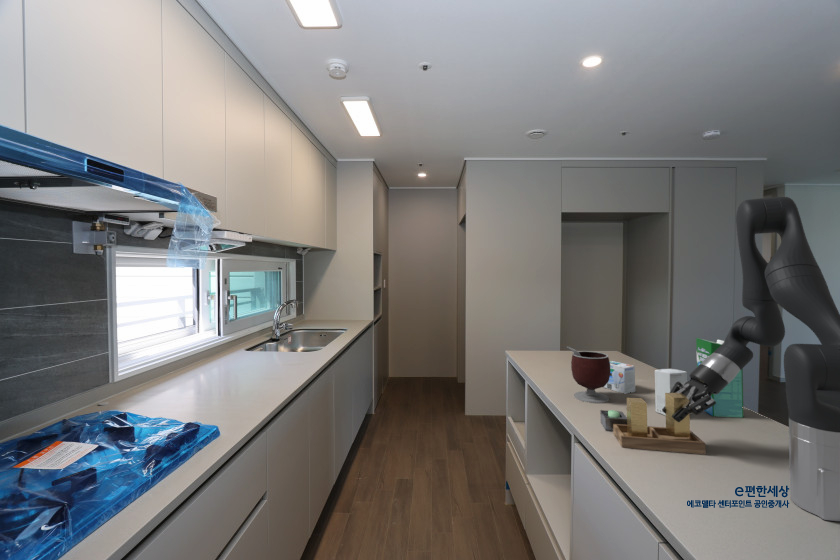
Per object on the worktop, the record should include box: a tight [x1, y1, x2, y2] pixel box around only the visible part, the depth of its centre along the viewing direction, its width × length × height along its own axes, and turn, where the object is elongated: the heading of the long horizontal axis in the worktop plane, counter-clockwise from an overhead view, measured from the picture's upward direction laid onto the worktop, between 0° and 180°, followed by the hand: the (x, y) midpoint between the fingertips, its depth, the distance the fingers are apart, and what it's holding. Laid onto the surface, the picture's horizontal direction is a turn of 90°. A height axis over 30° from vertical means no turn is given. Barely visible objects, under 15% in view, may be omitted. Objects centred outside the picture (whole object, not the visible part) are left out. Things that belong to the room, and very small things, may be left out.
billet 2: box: [665, 393, 691, 437], centre depth 101 cm, size 4×4×11 cm
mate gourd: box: [566, 346, 611, 404], centre depth 141 cm, size 16×14×20 cm
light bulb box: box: [603, 360, 636, 395], centre depth 150 cm, size 11×7×11 cm, turn 25°
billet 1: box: [626, 397, 648, 438], centre depth 103 cm, size 4×4×11 cm
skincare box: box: [654, 368, 688, 417], centre depth 123 cm, size 8×6×15 cm
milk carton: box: [695, 337, 745, 419], centre depth 123 cm, size 9×9×25 cm
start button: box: [607, 409, 620, 417], centre depth 113 cm, size 3×3×4 cm
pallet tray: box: [612, 424, 706, 455], centre depth 102 cm, size 9×20×3 cm, turn 75°
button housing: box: [599, 409, 627, 432], centre depth 113 cm, size 6×6×4 cm
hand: (670, 416), depth 101 cm, fingers closed on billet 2, 4 cm apart
